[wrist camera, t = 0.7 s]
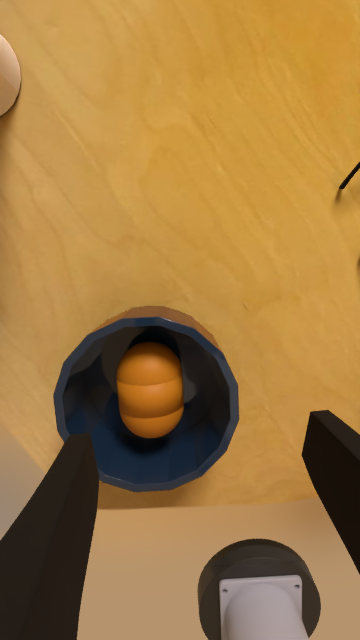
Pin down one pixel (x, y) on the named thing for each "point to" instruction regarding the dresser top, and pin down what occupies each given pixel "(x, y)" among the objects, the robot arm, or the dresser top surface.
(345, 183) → the sunglasses
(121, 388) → the orange banded oval part
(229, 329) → the dresser top surface
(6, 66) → the cup
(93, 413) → the pot
